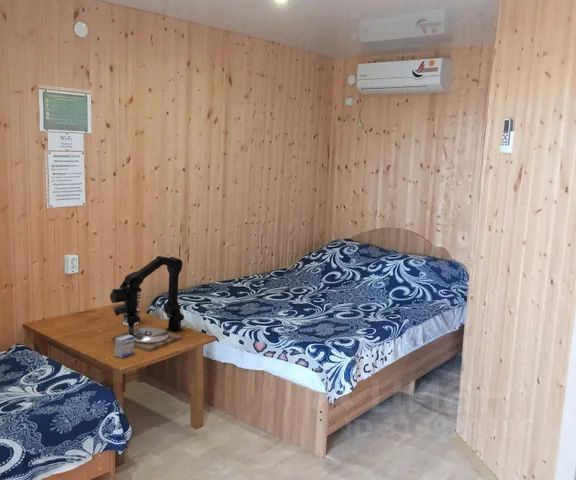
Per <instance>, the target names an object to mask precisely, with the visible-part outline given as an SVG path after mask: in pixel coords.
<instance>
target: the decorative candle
mask: <svg viewBox="0 0 576 480" xmlns="http://www.w3.org/2000/svg"><path fill="white" fill-rule="evenodd" d="M140 285H141V284H140ZM140 285H139V287H140V289H142V288H141V286H140ZM127 287H130V286H127ZM141 293H142V291H138V299H137V302H138V305H137V311H138V313H135V314H138V315H139V316H140V310H139V309H140V307H139V306H140V302H141V300H140V299H141ZM125 301H126V300H125ZM125 301H124V302H125ZM124 302H123V303H124ZM122 315H123V316H122V321H123V322H122V323H123V325H125V326H128V322H127V321H126V319H125V317H124V315H125V313H123V314H122ZM139 323H140V322H135V324H134V325H133V326H137V325H139ZM136 324H137V325H136Z"/></svg>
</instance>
